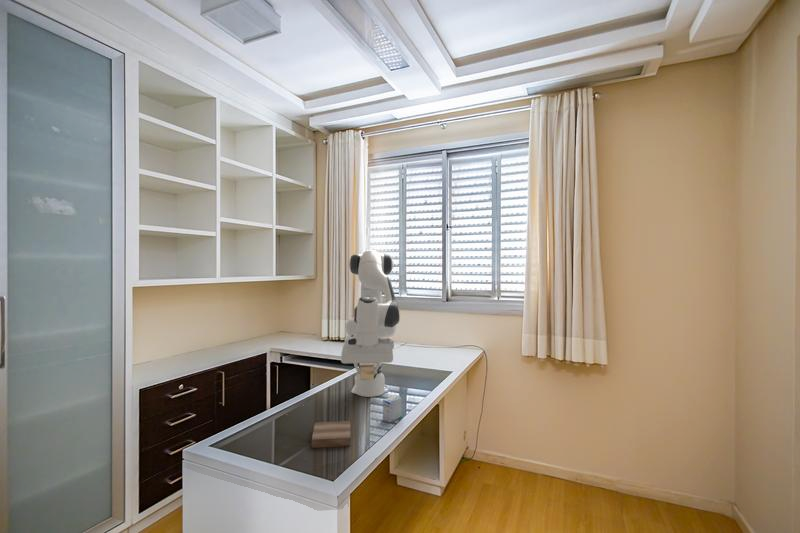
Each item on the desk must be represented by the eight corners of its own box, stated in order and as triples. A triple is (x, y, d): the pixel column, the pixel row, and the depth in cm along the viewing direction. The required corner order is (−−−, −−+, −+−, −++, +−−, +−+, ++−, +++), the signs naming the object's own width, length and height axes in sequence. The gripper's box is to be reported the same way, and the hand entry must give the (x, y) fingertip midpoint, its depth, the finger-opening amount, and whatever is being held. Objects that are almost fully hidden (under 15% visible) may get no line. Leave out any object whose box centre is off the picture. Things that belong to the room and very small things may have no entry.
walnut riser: (315, 430, 149) (315, 422, 149) (350, 428, 151) (350, 421, 151) (311, 447, 135) (311, 439, 135) (350, 445, 137) (350, 437, 137)
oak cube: (360, 376, 148) (360, 363, 147) (372, 375, 148) (373, 363, 148) (360, 380, 143) (360, 367, 142) (373, 380, 143) (373, 367, 143)
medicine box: (394, 414, 166) (394, 394, 166) (402, 417, 163) (402, 397, 163) (382, 419, 160) (382, 399, 160) (390, 423, 157) (390, 402, 157)
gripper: (393, 336, 150) (392, 370, 150) (341, 337, 147) (340, 371, 147) (394, 340, 143) (394, 375, 144) (341, 340, 141) (340, 377, 141)
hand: (366, 373), depth 145 cm, fingers closed on oak cube, 5 cm apart
